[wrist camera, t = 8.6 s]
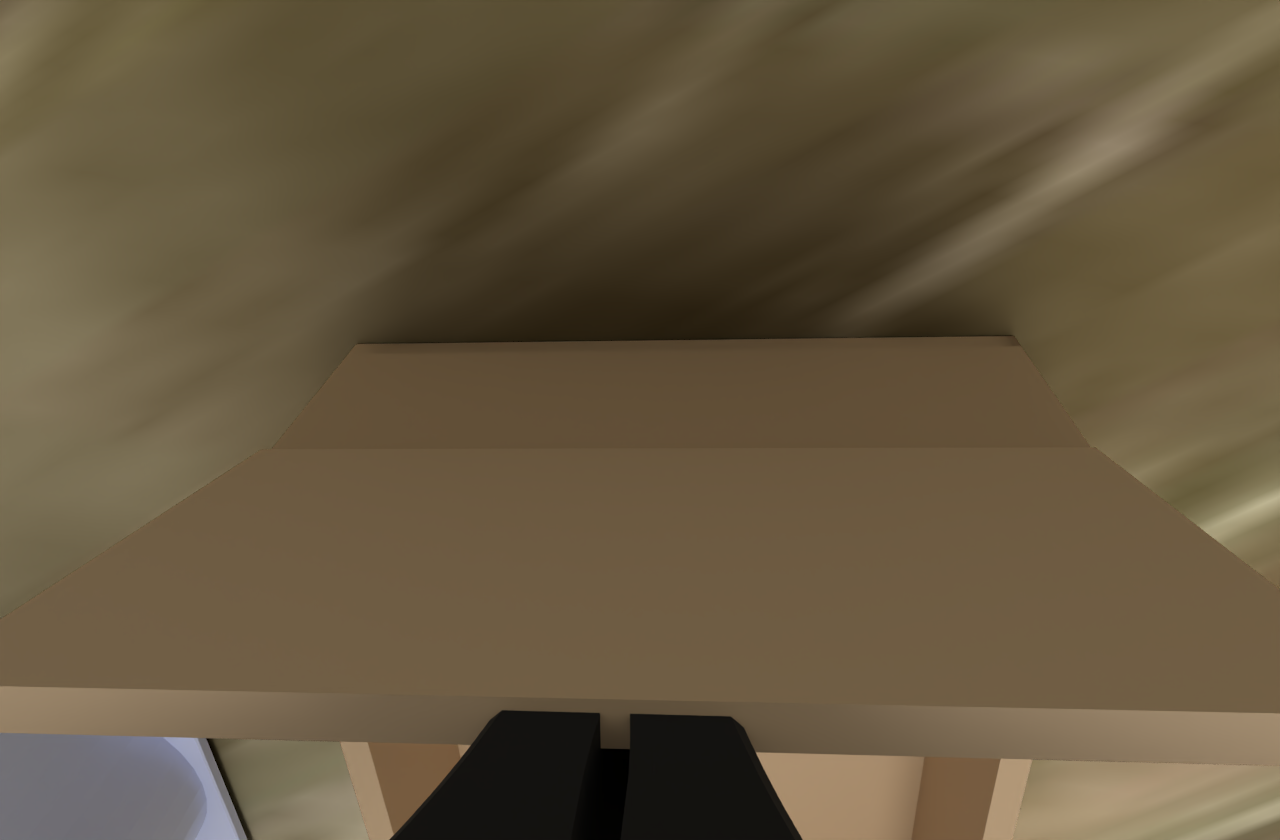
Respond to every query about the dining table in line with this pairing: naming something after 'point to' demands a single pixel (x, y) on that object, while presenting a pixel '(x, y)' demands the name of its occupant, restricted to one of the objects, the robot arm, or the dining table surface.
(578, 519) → the flap
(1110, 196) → the dining table surface
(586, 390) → the carton
